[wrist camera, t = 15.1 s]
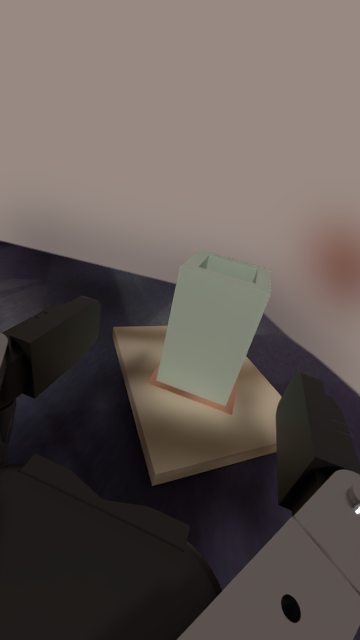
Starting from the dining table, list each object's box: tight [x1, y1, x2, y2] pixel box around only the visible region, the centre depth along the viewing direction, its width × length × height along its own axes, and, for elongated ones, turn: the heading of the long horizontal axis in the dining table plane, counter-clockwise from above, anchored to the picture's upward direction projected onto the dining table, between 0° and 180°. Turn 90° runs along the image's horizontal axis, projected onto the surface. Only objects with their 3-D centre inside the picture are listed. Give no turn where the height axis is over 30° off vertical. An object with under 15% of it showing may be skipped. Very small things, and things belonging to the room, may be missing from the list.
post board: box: [113, 326, 281, 486], centre depth 23 cm, size 16×13×6 cm
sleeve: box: [156, 250, 271, 406], centre depth 22 cm, size 6×6×10 cm
